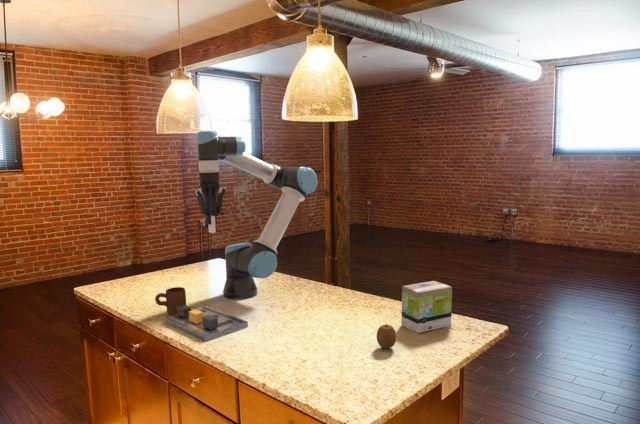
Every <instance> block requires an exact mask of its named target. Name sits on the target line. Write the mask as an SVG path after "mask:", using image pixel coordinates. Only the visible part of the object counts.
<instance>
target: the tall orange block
mask: <svg viewBox="0 0 640 424" xmlns="http://www.w3.org/2000/svg"><path fill="white" fill-rule="evenodd" d="M191 310H192V309H191ZM202 317H204V313H203V312H201V311H199V310H192V311H189V321H191V322H193V323H196V324H198V323H201V322H203V321H202Z"/></svg>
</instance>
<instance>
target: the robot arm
mask: <svg viewBox="0 0 640 424" xmlns="http://www.w3.org/2000/svg"><path fill="white" fill-rule="evenodd" d="M196 138H197V139H196V145H197V157H198V171H199V173H198V177H199V187H198V189H197V190H194V191H193V194H194V195H195V197H196V199H197V203H198V207H199V211H200V213H201V215H203V216H205V218H206V220H205V221H206V225H207V226H208V233H210V234H214V233H216V232H217V231H216V229H217V228H216V224H217V223H218V221H217V218H218V216H219V214H221V212H222V207H223V202H224V195H225V193H226V189H225V188H223V187H221V184H220V172H219V170H220V164H219V161H222V162H224V163H226V164H229V165H230V166H233V167H235V168H237V169H239V170H242V171H243V172H246V173H248V174H250V175H253V176H255V177H257V178H260V179H262V180H263V181H262V182H264V183H265V184H267V185H269V186H271V187H273V188H275V189H278V190H279V191H281V192H282V194H281V196H280V198H279V199H278V202H277V204H276V205H275V208H274V209H273V210H272V213H271V215H270V216H269V218H268V220H267V221H266V223H265V226H264V228H263V230H262V231H261V233H260V235H259V237H258V239H256V240H253V241H252V243H251V242H239V243H234V244H228V245H227V246H226V247H224V248H225V250H224V255H225V273H226V274H225V275H226V279H225V284H224V285H223V291H222V295H223V297H224V298H226V299H228V300H229V299H231V300H244V299H250V298H252V297H255V296H257V294H258V287H257V284H256V282H255V279H267V278H269V277H270V276H273V274H274V272H275V271H276V269H277V266H278V259H277V256H278V251H277V247H278V246H279V243H280V241H281V240H282V238H283V236H284V234H285V232H286V230H287V228H288V225H289V224H290V222H291V220H292V218H293V216H294V214H295V212H296V211H297V209H298V207H299V204H300V203H301V202H304V201H305V199H306V198H307V196H308V195H309V194H312V193H314V192H315V191H316V190H317V187H318V182H319V181H318V179H317V178H318V176H317V174H316V172H315V171H314V170H313V169H312V168H311V167H305V166H281V165H277V164H275V163H269V162H266V161H263V160H262V159H259V158H257V157H255V156H253V155H252V154H250V153H247V152H246V148H247V147H246V141H245V140H244V138H242V137H241V136H236V135H235V136H218V132H217V131H215V130H201V131H199V132H197V137H196ZM254 278H255V279H254Z"/></svg>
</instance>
